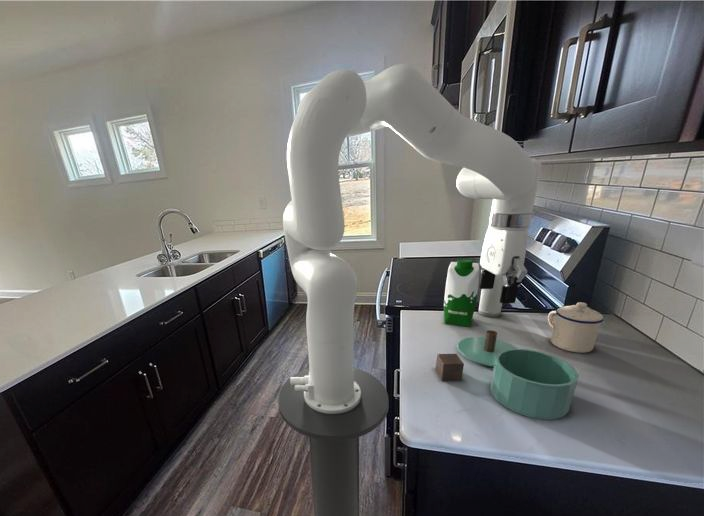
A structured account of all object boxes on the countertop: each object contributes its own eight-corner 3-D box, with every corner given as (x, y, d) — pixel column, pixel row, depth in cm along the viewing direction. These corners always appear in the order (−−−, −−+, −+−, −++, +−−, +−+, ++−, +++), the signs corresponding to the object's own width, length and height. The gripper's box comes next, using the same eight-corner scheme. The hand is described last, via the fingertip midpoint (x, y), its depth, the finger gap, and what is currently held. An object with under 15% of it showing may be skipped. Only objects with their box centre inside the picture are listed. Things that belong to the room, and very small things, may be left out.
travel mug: (506, 315, 101) (517, 253, 94) (488, 318, 99) (498, 256, 92) (490, 308, 107) (500, 249, 99) (473, 311, 105) (482, 252, 98)
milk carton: (441, 324, 98) (447, 261, 90) (443, 313, 105) (449, 254, 98) (473, 328, 94) (482, 263, 86) (473, 317, 101) (482, 255, 94)
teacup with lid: (603, 350, 79) (617, 307, 75) (572, 356, 77) (585, 312, 73) (559, 330, 90) (568, 291, 86) (531, 334, 88) (539, 295, 84)
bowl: (511, 420, 59) (518, 386, 57) (479, 377, 72) (484, 349, 69) (586, 419, 58) (597, 386, 55) (540, 377, 71) (547, 347, 68)
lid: (471, 370, 75) (474, 347, 72) (449, 340, 88) (451, 321, 86) (535, 369, 74) (540, 346, 71) (502, 339, 87) (506, 319, 85)
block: (441, 380, 72) (443, 364, 70) (435, 369, 76) (437, 353, 74) (461, 380, 71) (464, 363, 70) (454, 369, 75) (456, 353, 74)
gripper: (474, 217, 77) (464, 284, 83) (513, 227, 61) (497, 309, 67) (506, 216, 76) (494, 283, 82) (554, 226, 60) (535, 309, 66)
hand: (495, 295), depth 75 cm, fingers open, 9 cm apart
